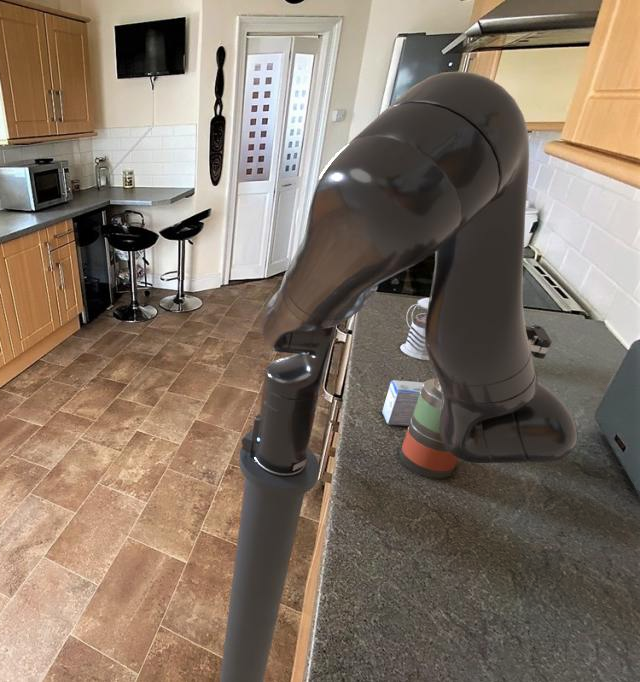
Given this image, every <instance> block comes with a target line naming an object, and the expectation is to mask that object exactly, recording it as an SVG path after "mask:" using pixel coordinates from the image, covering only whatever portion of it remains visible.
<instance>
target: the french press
mask: <svg viewBox="0 0 640 682" xmlns="http://www.w3.org/2000/svg"><path fill="white" fill-rule="evenodd" d="M429 298H430V297H424V298H421V299H418V300H417V303H415V304H412V305H410V307H409V308H408V310H407V312H406V316H405V317H406V323H407V326H408V328H410V329H409V332H408V335H407V338H406V341H405V343H402V344H401V345H400V347H399V348H400V350H401V352H403V353H404V354H405V355H407V356H408V357H411V358H415V359H418V360H423V361H430V360H429V357H428V353H427V350H426V344H425V321H426V314H427V312H425V313H424V312H423V313H418V314H416V315H415V316H414V312H415V309H416V308H417V309H418V310H423V309H425V310H427V309H428V304H429ZM413 307H414V308H413ZM420 307H421V308H420ZM412 308H413V309H412ZM411 309H412V312H411V325H410V324H409V322H408V317H409V311H410V310H411ZM413 316H414V317H415V318H413ZM416 322H417V324H416Z"/></svg>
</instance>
